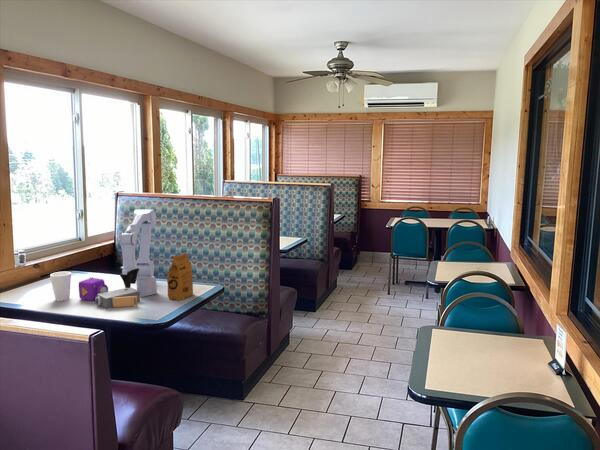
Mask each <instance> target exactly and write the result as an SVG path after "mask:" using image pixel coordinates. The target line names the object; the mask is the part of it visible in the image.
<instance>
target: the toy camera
mask: <svg viewBox="0 0 600 450" xmlns="http://www.w3.org/2000/svg"><path fill="white" fill-rule="evenodd" d="M105 292H109V287H108V285H107V284H106V283H105V280H104V279H103V278H95V277H94V276H91V277H89V278H87V279H83V280H81V281H78V295H79V299H80V300H84V301H90V302H92V301H93V302H94V301H95V298H96V297H97V294H100V293H105Z"/></svg>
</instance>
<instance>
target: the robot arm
mask: <svg viewBox="0 0 600 450" xmlns="http://www.w3.org/2000/svg"><path fill="white" fill-rule="evenodd" d="M156 219H157V215H156V212H155V210H154V208H151V209H137V208H136V209H135V210H134V211H133V221H132V223H130V224H129V225H128V227H127V228H126V229H125V231H124V233H123V232H122V233H121V234H120V235H119V241H118V242H119V244H120V249H121V252H122V253H121V254H122V266H120V270H121V269H122V270H121V273H119V276H120V277H121V279H122V281H123V284H124V288H130V287H131V285H133V284H136V290H138V291H140V298H143V297H147V296H151V295H157V294H158V291H157V285H158V284H157V278H156V277H155V276H154V274H155V268H154V267H155V264H154V261H152V260H151V259H150V251H151V250H150V249H151V238H152V237H151V236H152V230H153V229H152V228H153V227H154V226H155V225H156ZM140 231H141V234H140V245H139V255H138V258H139V259H138V258H137V259H136V247H135V245H136V244H137V239H138V235H139V233H140ZM131 288H132V287H131Z"/></svg>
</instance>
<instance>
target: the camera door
mask: <svg viewBox="0 0 600 450" xmlns="http://www.w3.org/2000/svg"><path fill="white" fill-rule="evenodd" d="M132 306H138V302H137V296H128V297H115V298H112V308H121V307H123V308H124V307H132Z"/></svg>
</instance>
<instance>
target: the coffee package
mask: <svg viewBox="0 0 600 450" xmlns="http://www.w3.org/2000/svg"><path fill="white" fill-rule="evenodd" d="M171 259H172V263H171V266H170V267H169V270H168V272H167V277H166V280H167V297H168V299H169V300H171V299H172V300H176V301H182V300H184V299H186V298H190V297H191V296H193V295H194V286H193V285H194V282H193V281H194V279H193V278H194V277H193V269H192V263H191V261H190V259H189V257H188V255H187V253H186V252H183V253H182V254H181V255H172V256H171Z"/></svg>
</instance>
